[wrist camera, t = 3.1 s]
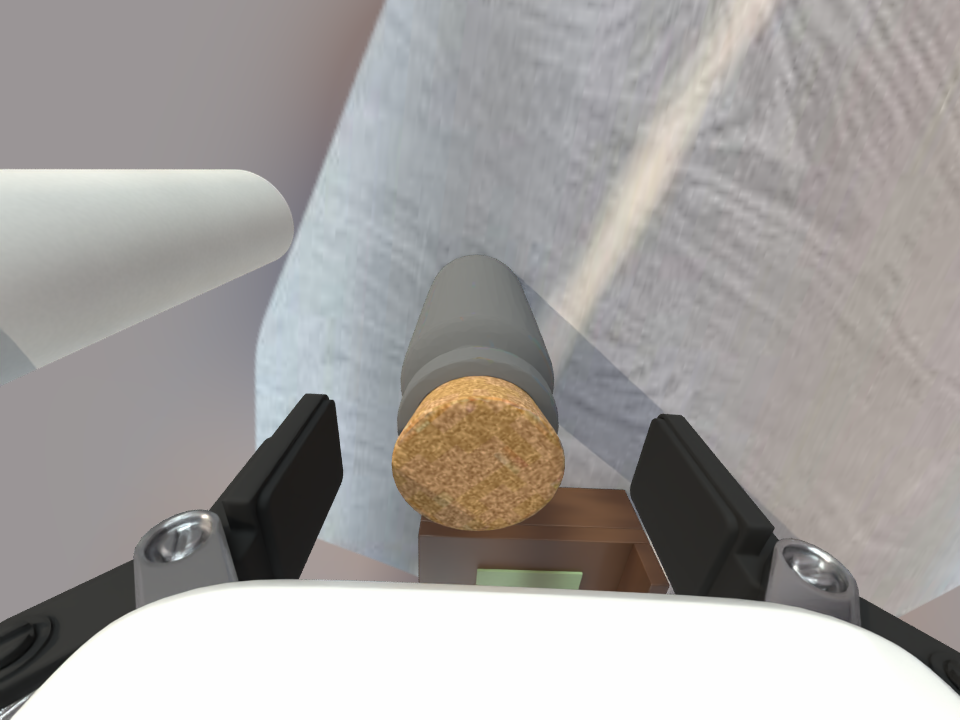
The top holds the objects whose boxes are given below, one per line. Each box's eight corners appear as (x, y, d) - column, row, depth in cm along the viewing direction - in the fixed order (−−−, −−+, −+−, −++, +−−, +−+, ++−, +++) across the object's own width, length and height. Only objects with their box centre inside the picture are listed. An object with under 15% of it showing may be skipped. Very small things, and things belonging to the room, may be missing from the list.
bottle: (412, 277, 23) (325, 429, 10) (502, 236, 22) (545, 342, 9) (453, 357, 25) (430, 567, 12) (536, 324, 24) (612, 512, 11)
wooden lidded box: (425, 592, 36) (414, 695, 29) (426, 481, 30) (411, 578, 23) (591, 596, 37) (619, 698, 30) (624, 489, 31) (670, 585, 24)
